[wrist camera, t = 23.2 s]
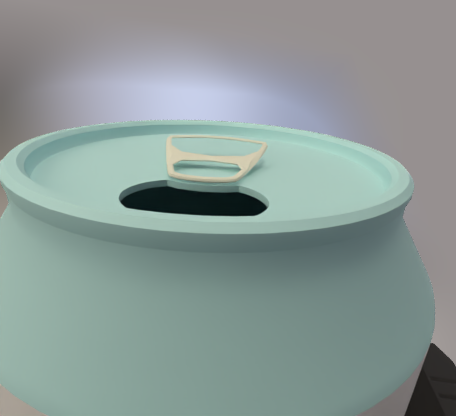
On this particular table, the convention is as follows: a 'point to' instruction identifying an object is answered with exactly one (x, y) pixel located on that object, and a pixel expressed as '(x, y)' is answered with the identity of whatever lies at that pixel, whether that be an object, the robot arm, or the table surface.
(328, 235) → the can
